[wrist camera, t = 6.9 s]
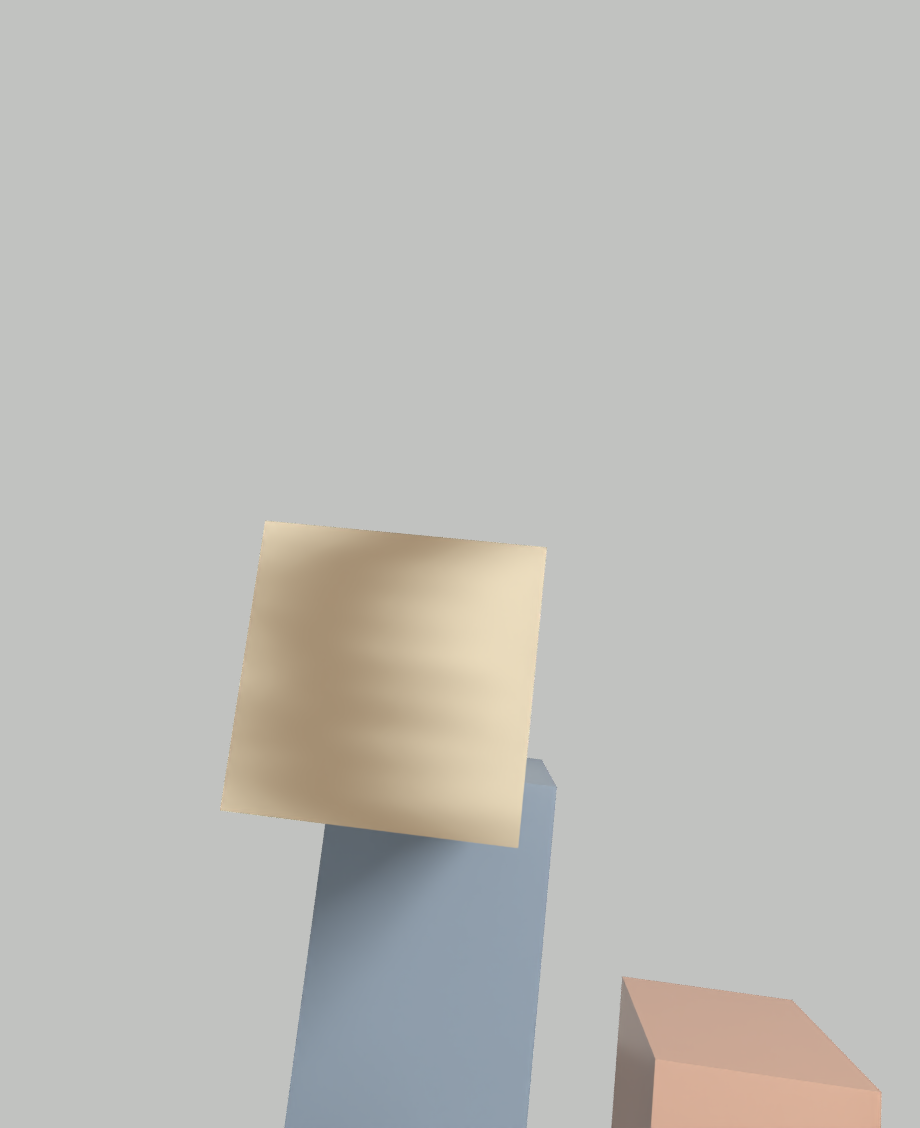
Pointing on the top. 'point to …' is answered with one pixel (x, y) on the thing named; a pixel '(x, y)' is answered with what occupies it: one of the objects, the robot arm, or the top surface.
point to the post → (424, 977)
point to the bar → (388, 683)
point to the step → (730, 1064)
